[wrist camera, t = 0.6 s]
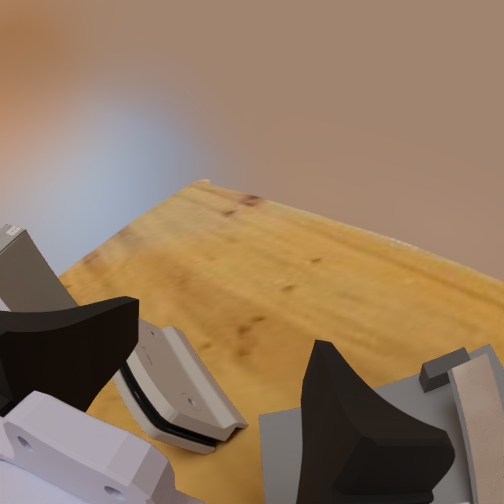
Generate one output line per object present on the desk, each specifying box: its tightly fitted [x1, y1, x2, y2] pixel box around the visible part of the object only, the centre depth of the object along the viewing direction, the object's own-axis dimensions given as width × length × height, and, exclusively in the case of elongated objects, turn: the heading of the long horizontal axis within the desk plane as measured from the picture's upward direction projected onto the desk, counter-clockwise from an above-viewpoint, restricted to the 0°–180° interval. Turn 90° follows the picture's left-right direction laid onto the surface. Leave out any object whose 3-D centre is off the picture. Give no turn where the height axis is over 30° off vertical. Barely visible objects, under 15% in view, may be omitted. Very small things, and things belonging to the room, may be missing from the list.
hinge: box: [113, 318, 248, 455], centre depth 29 cm, size 17×5×10 cm, turn 33°
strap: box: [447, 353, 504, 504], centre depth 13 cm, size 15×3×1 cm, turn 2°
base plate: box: [259, 344, 504, 504], centre depth 16 cm, size 18×22×5 cm
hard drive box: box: [0, 224, 79, 312], centre depth 36 cm, size 16×8×20 cm, turn 58°
